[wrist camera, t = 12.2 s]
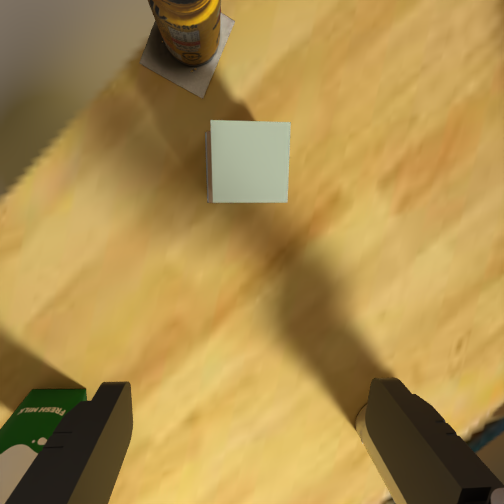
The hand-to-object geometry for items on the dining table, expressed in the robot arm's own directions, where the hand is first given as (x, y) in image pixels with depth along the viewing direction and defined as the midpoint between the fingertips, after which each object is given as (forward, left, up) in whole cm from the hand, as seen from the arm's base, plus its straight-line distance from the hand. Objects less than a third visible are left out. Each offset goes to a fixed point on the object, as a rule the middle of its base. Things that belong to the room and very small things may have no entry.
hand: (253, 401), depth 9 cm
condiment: (+4, -21, -28) cm, 36 cm away
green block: (-1, -8, -18) cm, 20 cm away
